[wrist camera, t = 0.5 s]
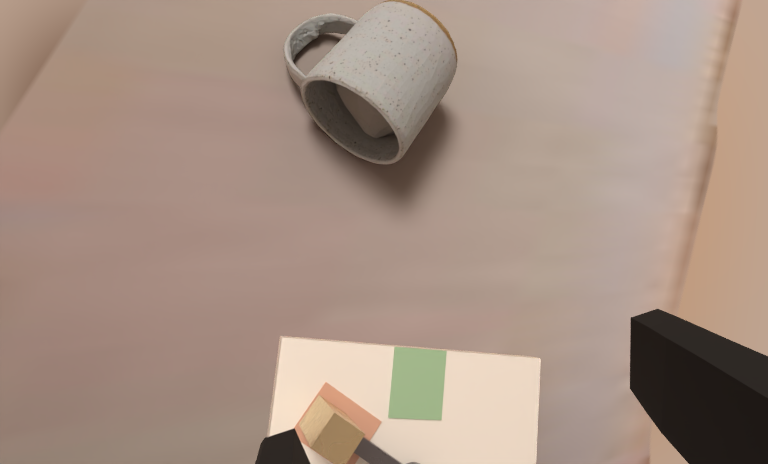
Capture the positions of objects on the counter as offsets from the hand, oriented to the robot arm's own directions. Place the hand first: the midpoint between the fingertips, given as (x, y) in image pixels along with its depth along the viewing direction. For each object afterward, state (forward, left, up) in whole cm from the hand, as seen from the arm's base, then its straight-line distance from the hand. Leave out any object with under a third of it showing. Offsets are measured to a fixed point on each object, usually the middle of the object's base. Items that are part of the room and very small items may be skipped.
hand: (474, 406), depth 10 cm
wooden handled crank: (-7, -4, -21) cm, 23 cm away
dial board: (-8, -7, -23) cm, 26 cm away
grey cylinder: (+17, -1, -23) cm, 29 cm away
